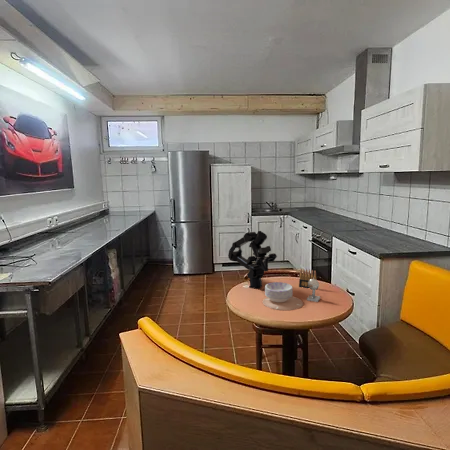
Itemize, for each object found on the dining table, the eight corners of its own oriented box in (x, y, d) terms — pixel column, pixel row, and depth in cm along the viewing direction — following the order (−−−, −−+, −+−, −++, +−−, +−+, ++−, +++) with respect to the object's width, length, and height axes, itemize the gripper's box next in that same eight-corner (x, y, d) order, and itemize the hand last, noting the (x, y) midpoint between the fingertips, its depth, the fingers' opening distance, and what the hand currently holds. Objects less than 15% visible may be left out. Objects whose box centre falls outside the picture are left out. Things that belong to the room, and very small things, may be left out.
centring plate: (256, 305, 178) (256, 305, 178) (270, 293, 197) (271, 292, 197) (296, 313, 168) (296, 312, 168) (307, 299, 187) (307, 298, 187)
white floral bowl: (271, 306, 177) (271, 291, 176) (260, 296, 191) (260, 283, 190) (297, 303, 181) (297, 289, 180) (285, 293, 195) (285, 280, 194)
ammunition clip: (298, 287, 208) (299, 268, 206) (299, 286, 209) (300, 267, 208) (315, 289, 202) (316, 270, 201) (316, 288, 204) (317, 269, 202)
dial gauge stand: (306, 300, 185) (307, 279, 183) (309, 296, 190) (310, 276, 189) (317, 301, 182) (318, 280, 181) (320, 298, 188) (320, 277, 186)
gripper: (248, 243, 194) (257, 265, 186) (275, 240, 202) (285, 261, 193) (242, 253, 202) (251, 275, 194) (268, 250, 210) (278, 271, 202)
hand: (266, 271), depth 196 cm, fingers closed
